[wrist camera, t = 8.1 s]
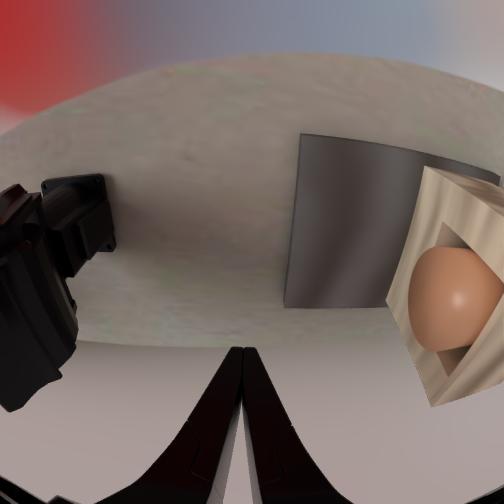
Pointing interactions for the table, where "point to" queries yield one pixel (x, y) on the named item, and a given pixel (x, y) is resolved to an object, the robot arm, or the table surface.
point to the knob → (451, 297)
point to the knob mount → (394, 243)
